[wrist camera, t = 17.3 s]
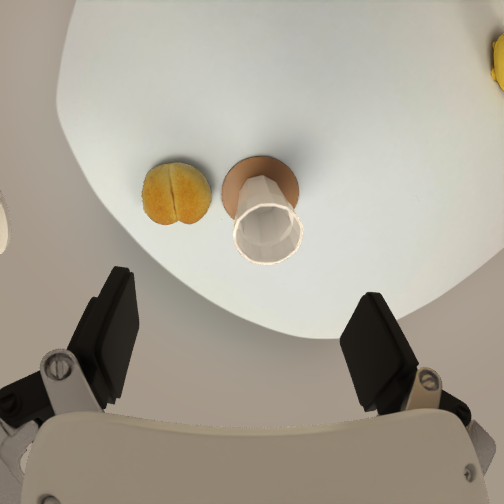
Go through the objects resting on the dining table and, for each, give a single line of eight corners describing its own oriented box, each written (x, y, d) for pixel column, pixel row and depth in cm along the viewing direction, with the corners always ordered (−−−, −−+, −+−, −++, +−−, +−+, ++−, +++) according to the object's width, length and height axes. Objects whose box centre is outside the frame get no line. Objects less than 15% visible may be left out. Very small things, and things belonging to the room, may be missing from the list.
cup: (223, 190, 35) (218, 230, 26) (265, 159, 33) (277, 189, 24) (254, 226, 38) (260, 275, 29) (294, 199, 36) (315, 241, 27)
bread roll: (213, 218, 38) (210, 232, 34) (149, 220, 37) (141, 233, 34) (211, 158, 33) (208, 167, 30) (142, 162, 33) (132, 171, 29)
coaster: (217, 223, 38) (217, 224, 38) (226, 151, 33) (226, 151, 32) (289, 231, 39) (289, 232, 39) (305, 163, 34) (306, 164, 34)
